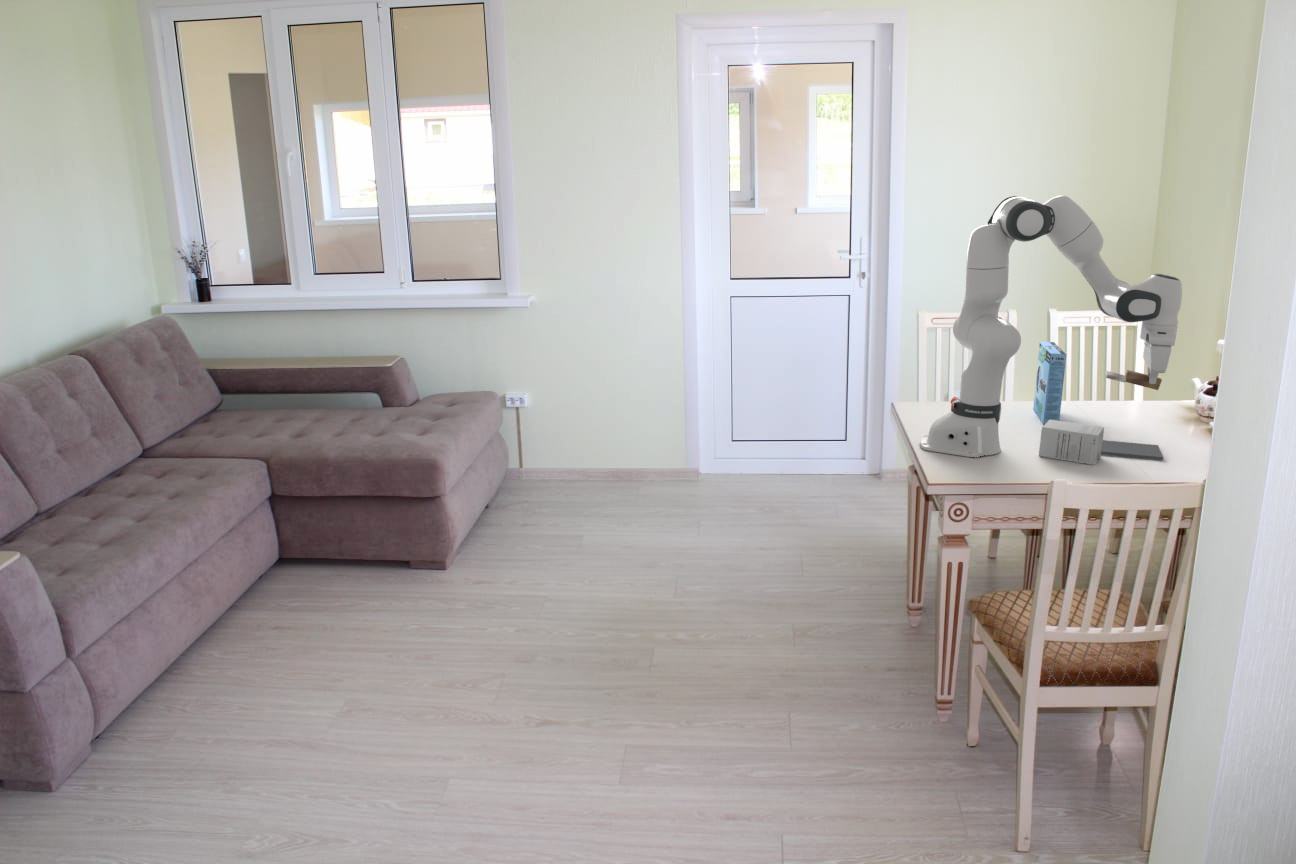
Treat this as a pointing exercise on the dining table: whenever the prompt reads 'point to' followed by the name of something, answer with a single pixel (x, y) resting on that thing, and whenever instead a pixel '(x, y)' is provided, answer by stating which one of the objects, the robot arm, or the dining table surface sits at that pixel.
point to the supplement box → (1071, 441)
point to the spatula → (1134, 379)
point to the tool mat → (1131, 450)
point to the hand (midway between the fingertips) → (1151, 381)
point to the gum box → (1049, 382)
